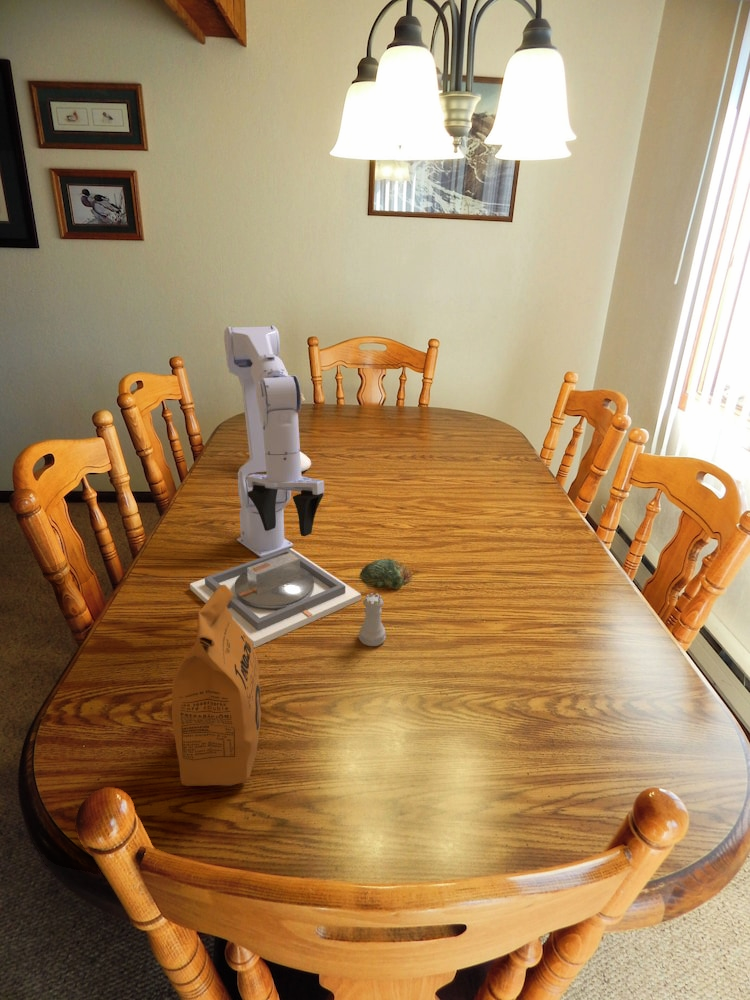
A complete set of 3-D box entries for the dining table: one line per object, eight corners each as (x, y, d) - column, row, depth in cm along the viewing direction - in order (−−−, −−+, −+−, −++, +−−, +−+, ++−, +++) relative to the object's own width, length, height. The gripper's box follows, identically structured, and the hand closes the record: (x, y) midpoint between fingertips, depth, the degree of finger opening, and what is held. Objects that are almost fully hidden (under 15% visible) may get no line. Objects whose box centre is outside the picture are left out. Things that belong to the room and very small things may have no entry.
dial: (220, 584, 112) (218, 558, 110) (285, 560, 121) (284, 536, 119) (262, 619, 103) (260, 592, 101) (329, 590, 111) (329, 565, 109)
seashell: (403, 543, 124) (419, 568, 115) (403, 561, 125) (419, 587, 117) (353, 552, 121) (366, 578, 113) (355, 570, 123) (368, 597, 114)
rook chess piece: (370, 627, 104) (371, 586, 101) (391, 638, 102) (393, 596, 98) (352, 639, 101) (353, 597, 98) (374, 651, 98) (375, 608, 95)
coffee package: (273, 719, 84) (266, 579, 75) (251, 796, 73) (240, 641, 64) (200, 714, 85) (185, 574, 76) (168, 790, 73) (145, 636, 65)
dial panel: (190, 589, 113) (189, 576, 112) (291, 553, 127) (291, 541, 126) (254, 647, 98) (253, 633, 97) (360, 599, 112) (361, 586, 111)
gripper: (231, 453, 102) (238, 533, 105) (303, 458, 95) (309, 544, 98) (260, 446, 108) (266, 522, 111) (329, 451, 100) (333, 532, 104)
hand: (287, 531), depth 105 cm, fingers open, 7 cm apart
